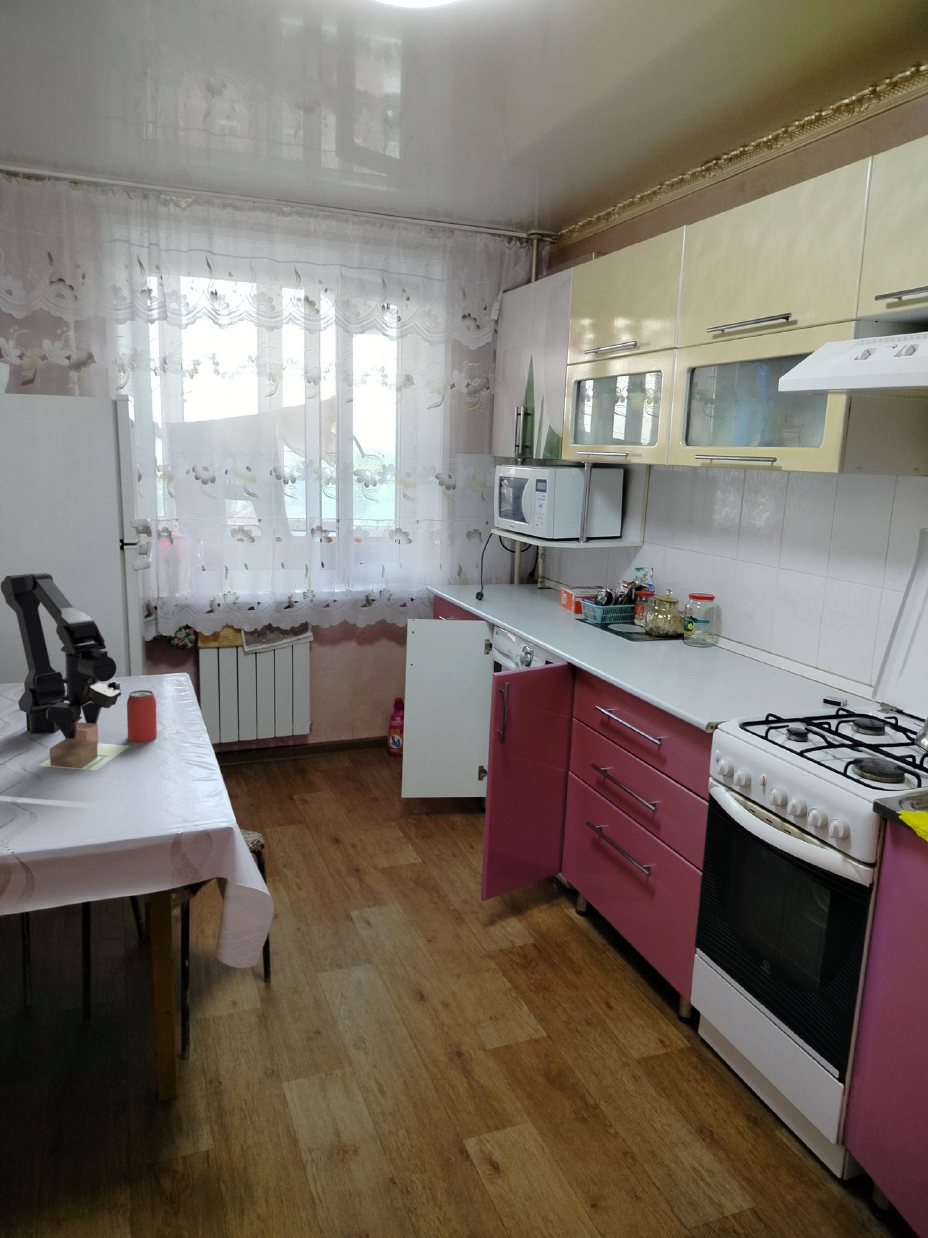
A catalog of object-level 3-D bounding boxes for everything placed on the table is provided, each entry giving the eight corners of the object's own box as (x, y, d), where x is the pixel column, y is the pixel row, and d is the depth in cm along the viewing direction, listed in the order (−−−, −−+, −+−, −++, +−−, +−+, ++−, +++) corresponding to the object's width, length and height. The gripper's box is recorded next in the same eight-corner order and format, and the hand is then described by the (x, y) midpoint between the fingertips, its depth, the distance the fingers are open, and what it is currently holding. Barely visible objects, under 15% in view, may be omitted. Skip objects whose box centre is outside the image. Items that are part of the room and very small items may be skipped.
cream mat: (38, 769, 185) (38, 765, 185) (77, 744, 201) (76, 741, 201) (95, 773, 184) (95, 770, 184) (130, 749, 200) (130, 745, 200)
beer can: (147, 746, 202) (146, 698, 200) (122, 743, 203) (120, 695, 201) (162, 738, 208) (161, 691, 206) (137, 735, 210) (136, 688, 207)
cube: (66, 749, 195) (65, 728, 194) (77, 742, 200) (77, 722, 199) (87, 751, 195) (86, 730, 194) (98, 744, 200) (97, 723, 199)
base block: (50, 765, 185) (49, 748, 185) (67, 754, 192) (67, 738, 191) (81, 768, 185) (80, 750, 184) (97, 757, 192) (97, 740, 191)
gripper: (92, 686, 184) (95, 754, 187) (132, 665, 203) (134, 728, 206) (43, 682, 185) (46, 750, 188) (87, 662, 204) (89, 724, 207)
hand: (82, 737), depth 197 cm, fingers open, 8 cm apart
